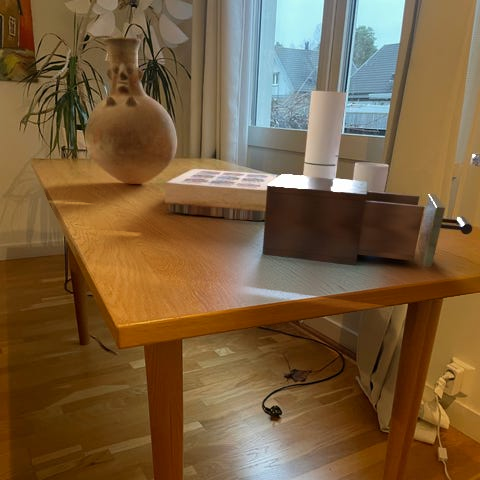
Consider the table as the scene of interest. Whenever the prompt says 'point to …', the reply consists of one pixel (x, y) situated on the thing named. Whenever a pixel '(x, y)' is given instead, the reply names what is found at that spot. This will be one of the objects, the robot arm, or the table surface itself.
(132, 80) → the vase
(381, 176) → the mug
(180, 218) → the table surface
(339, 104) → the cylindrical container
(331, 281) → the table surface
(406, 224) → the drawer
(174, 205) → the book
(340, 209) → the cabinet
